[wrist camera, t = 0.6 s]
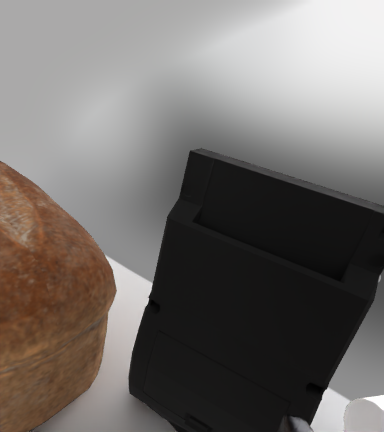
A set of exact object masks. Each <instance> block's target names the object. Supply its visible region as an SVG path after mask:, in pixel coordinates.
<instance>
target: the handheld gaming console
mask: <svg viewBox="0 0 384 432" xmlns="http://www.w3.org/2000/svg"><path fill="white" fill-rule="evenodd" d="M382 271H384V206H382V205H379V204H376V203H373V202H370V201H367V200H363V199H360V198H357V197H354V196H351V195H348V194H345V193H341V192H338V191H335V190H332V189H329V188H326V187H323V186H319V185H316V184H313V183H310V182H307V181H304V180H301V179H297V178H294V177H291V176H288V175H284V174H282V173H278V172H275V171H272V170H269V169H266V168H263V167H260V166H256V165H253V164H250V163H247V162H244V161H240V160H238V159H234V158H231V157H228V156H224V155H222V154H218V153H215V152H212V151H208V150H205V149H202V148H201V149H196V150H191V151H190V153H189V157H188V162H187V166H186V170H185V174H184V179H183V183H182V187H181V192H180V196H179V199H178V201H177V202H176V204H175V205H174V207H173V208H172V210H171V211H170V213H169V215H168V217H167V221H166V226H165V230H164V236H163V240H162V244H161V249H160V253H159V258H158V263H157V267H156V272H155V276H154V281H153V286H152V290H151V293H150V295H149V297H148V298H149V302H148V305H147V306H146V307H145V310H144V313H143V317H142V320H141V323H140V326H139V329H138V333H137V337H136V340H135V344H134V348H133V351H132V357H131V364H130V371H129V392H130V394H131V395H133V396H135V397H136V398H138V399H139V400H141V401H142V402H144V403H145V404H147V405H148V406H149V407H150V408H152V409H153V410H154V411H155V412H157V413H158V414H159V415H160V416H162V417H164V418H165V419H167V420H168V421H169V422H170V423H171V424H172V425H173V427H174V428H175V429H176V430H177V431H178V432H277V430H278V428H279V426H280V423H281V421H282V418H283V416H284V415H286V414H290V415H295V416H300V417H302V418H303V419H305V421H306V422H307V423H308V424H309V426H310V425H311V423H312V421H313V418H314V416H315V413H316V411H317V409H318V406H319V404H320V401H321V400H322V395H323V393H324V391H325V389H326V390H327V387H328V384H329V382H330V380H331V378H332V376H333V375H334V373H335V371H336V369H337V367H338V365H339V364H340V362H341V360H342V358H343V356H344V354H345V353H346V351H347V349H348V347H349V345H350V343H351V341H352V340H353V338H354V336H355V334H356V332H357V330H358V329H359V327H360V325H361V323H362V321H363V319H364V318H365V316H366V314H367V312H368V310H369V308H370V307H371V305H372V303H373V301H374V298H375V293H376V289H377V284H378V282H379V281H380V278H381V276H380V274H381V273H382Z"/></svg>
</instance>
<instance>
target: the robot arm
mask: <svg viewBox="0 0 384 432" xmlns="http://www.w3.org/2000/svg"><path fill="white" fill-rule="evenodd" d="M277 432H314V431H313V430H312V428H311V427H310V426H309V424H308V423H307V422H306V421H305V419H303V418H302V417H300V416H295V415H290V414H286V415H284V416H283V418H282V421H281V423H280V426H279V428H278V430H277Z"/></svg>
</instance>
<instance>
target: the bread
mask: <svg viewBox="0 0 384 432" xmlns="http://www.w3.org/2000/svg"><path fill="white" fill-rule="evenodd" d="M115 294H116V286H115V280H114V275H113V270H112V268H111V266H110V264H109V262H108V261H107V259H106V257H105V255H104V253H103V252H102V250H101V249H100V248H99V246H98V245H97V244H96V242H95V241H94V239H93V238H92V237H91V235H90V234H89V233H88V232H87V231H86V230H85V229H84V228H83V227H82V226H81V225H80V224H79V223H78V222H77V221H76V220H75V219H74V218H73V217H71V216H70V215H69V214H68V213H67V212H66V211H65V210H63V209H62V208H61V207H60V206H59V205H58V204H57V203H56V202H54V201H53V200H52V199H51V198H50V197H49V196H48V195H47V194H46V193H45V192H44V191H43V190H42V189H41V188H40V187H38V186H37V185H36V184H35V183H33V182H32V181H31V180H29V179H28V178H26V177H25V176H23V175H22V174H20V173H18V172H17V171H15V170H14V169H12V168H11V167H9V166H8V165H6V164H5V163H3V162H1V161H0V432H28V431H30V430H32V429H33V428H35V427H37V426H38V425H40V424H42V423H44V422H45V421H47V420H48V419H49V418H51V417H52V416H53V415H55V414H56V413H57V412H59V411H60V410H61V409H63V408H64V407H65V406H67V405H68V404H69V403H71V402H72V401H73V400H74V399H76V398H77V397H78V396H80V395H81V394H82V393H84V392H85V391H86V390H87V389H89V387H90V386H91V384H92V382H93V381H94V379H95V378H96V376H97V374H98V371H99V368H100V364H101V361H102V355H103V349H104V343H105V337H106V330H107V320H108V312H109V309H110V307H111V305H112V303H113V300H114V297H115Z"/></svg>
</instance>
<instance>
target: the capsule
mask: <svg viewBox="0 0 384 432" xmlns="http://www.w3.org/2000/svg"><path fill="white" fill-rule="evenodd" d="M344 431H345V432H384V395H382V396H375V397H368V398H360V399H353V400H352V401H351V402H350V403H349V404H348V405H347V406H346V410H345V413H344Z"/></svg>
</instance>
